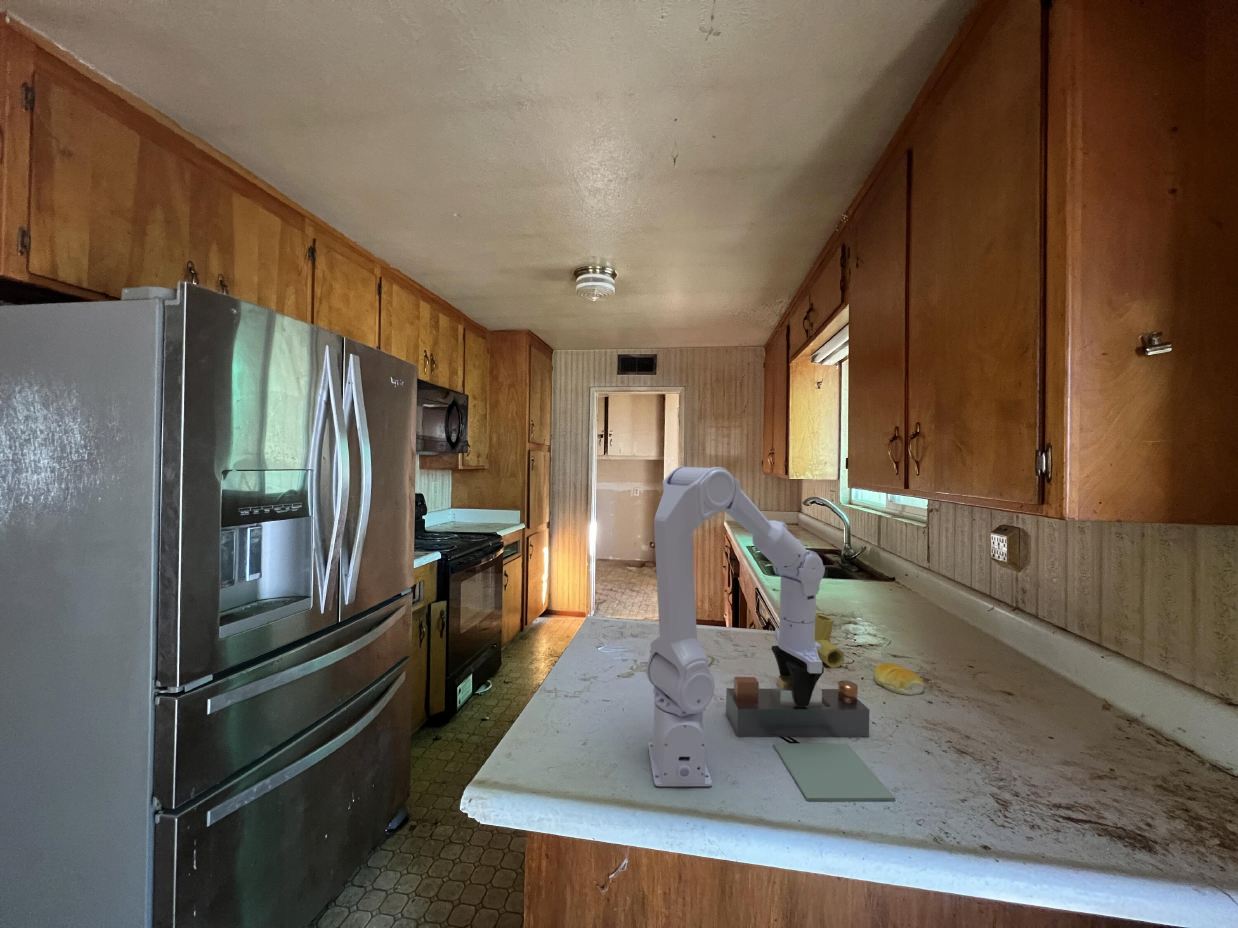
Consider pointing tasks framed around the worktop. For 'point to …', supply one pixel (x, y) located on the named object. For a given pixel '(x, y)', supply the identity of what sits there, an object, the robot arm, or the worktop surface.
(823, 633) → the yellow pipe fitting
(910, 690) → the bread roll
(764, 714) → the hand plane
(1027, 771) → the worktop surface
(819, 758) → the rubber mat
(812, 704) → the lever cap
